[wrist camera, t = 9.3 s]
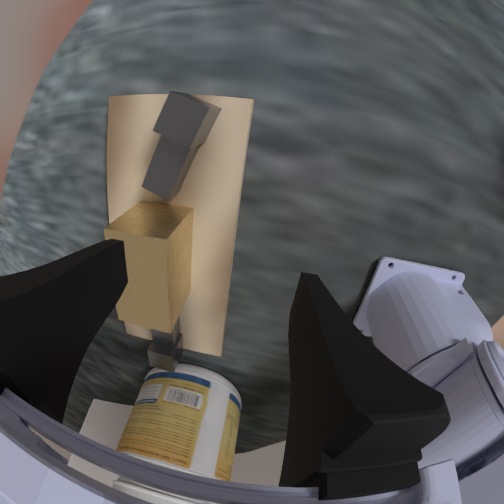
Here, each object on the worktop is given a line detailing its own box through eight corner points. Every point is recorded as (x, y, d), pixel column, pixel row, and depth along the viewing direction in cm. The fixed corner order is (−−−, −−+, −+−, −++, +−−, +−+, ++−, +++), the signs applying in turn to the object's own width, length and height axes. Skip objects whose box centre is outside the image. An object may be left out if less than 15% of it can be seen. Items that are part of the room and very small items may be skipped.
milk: (143, 407, 36) (95, 543, 13) (175, 438, 41) (143, 553, 18) (93, 398, 38) (44, 509, 15) (126, 429, 43) (91, 528, 20)
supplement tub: (136, 381, 32) (92, 485, 17) (173, 342, 27) (115, 491, 12) (210, 419, 34) (187, 520, 20) (264, 392, 29) (249, 527, 14)
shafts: (223, 95, 15) (211, 92, 12) (203, 354, 25) (195, 378, 23) (156, 93, 15) (134, 91, 12) (160, 344, 25) (150, 366, 23)
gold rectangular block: (193, 207, 18) (166, 239, 14) (190, 290, 22) (170, 333, 17) (141, 200, 18) (104, 228, 14) (145, 280, 22) (118, 319, 17)
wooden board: (254, 100, 15) (252, 99, 15) (222, 349, 26) (221, 356, 25) (116, 96, 16) (109, 96, 15) (130, 327, 26) (126, 333, 25)
